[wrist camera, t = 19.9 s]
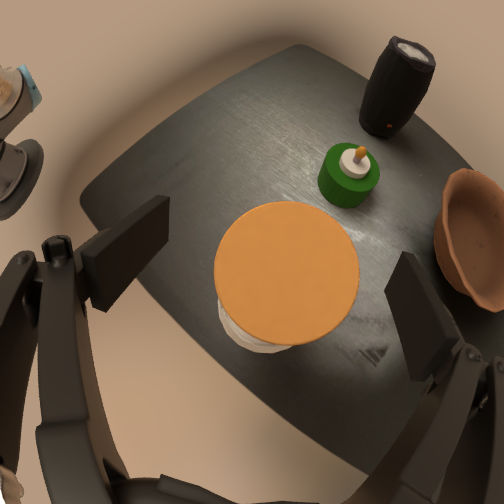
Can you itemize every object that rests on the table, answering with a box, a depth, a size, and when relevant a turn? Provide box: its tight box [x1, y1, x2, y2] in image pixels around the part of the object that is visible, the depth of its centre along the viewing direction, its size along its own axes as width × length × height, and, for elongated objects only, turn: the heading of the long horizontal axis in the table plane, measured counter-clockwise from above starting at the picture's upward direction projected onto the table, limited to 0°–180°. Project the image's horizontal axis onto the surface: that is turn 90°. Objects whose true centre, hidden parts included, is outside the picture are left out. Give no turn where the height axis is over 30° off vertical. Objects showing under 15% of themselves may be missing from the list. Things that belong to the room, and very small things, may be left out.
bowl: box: [433, 168, 504, 313], centre depth 32 cm, size 22×22×11 cm
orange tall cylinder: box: [214, 201, 360, 346], centre depth 15 cm, size 5×5×13 cm
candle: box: [318, 143, 380, 208], centre depth 36 cm, size 8×8×10 cm
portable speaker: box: [359, 36, 436, 139], centre depth 35 cm, size 9×9×20 cm
